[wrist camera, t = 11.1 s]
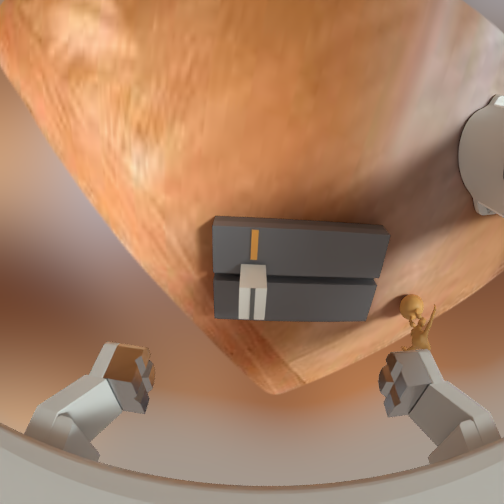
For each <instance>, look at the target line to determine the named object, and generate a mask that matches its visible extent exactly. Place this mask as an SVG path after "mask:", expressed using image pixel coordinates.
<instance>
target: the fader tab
mask: <svg viewBox="0 0 504 504" xmlns="http://www.w3.org/2000/svg"><path fill="white" fill-rule="evenodd" d="M266 295H267V278H266V265H254V264H241V271H240V285H239V319H249V320H264V318H265V307H266Z"/></svg>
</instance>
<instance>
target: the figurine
mask: <svg viewBox="0 0 504 504" xmlns="http://www.w3.org/2000/svg"><path fill="white" fill-rule="evenodd" d="M435 311H436V306H435V304H434V310H433V312H432V314H431V317H430V320H429V322H428V324H427V326H426V328H425V330H424V331H423V330H422V329H421V327H424V324H425V322H426V319H425V318H423V317H422V316H421V314H422V312H423V301H422V300H421V298H420V297H419V296H417V295H414V294H411V295H407V296H405V297H404V298H403V299H402V301H401V303H400V313H401V314H402V316H403V317H404V318H406V319H409V322H410V326H411V327H414V328H413V329H412V330H411V336H412V346H411V347H410V348H408V349H407V350H406V348H405V347H404V348H402V350H403V351H410V350H416V349H419V348H421V349H428V350H430V348H431V346H430V344H429V342H428V332H429V329H430V327H431V324H432V321H433V317H434V315H435ZM416 318H418V319H420V320H419V321H418V325H417V326H416V325H415V323H414V322H412V320H414V319H416Z"/></svg>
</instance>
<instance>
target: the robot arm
mask: <svg viewBox="0 0 504 504" xmlns="http://www.w3.org/2000/svg"><path fill="white" fill-rule="evenodd" d="M458 157H459V168H460V173H461V177H462V180H463V182H464V184H465V186H466V188H467V189H468V191H469V192H470V194H471V195H472V197H473V202H474V207H475V210H476V212H477V213H478V214H480V215H490V214H498V215H500V216H502V217H503V218H504V96H502V95H499V94H497V95H495V96H494V97H493V99H492V100H491V102H490V103H489V105H487V106H486V107H484V108H482V109H480V110H478V111H477V112H475V113H474V114H473V115H472V116H471V118H470V119H469V120H468V122H467V123H466V125H465V127H464V130H463V132H462V135H461V139H460V144H459V155H458ZM150 355H151V354H150V351H149V348H147V347H141V346H135V345H128V344H122V343H115V342H109V341H107V342H106V343H105V344H104V346H103V347H102V349H101V351H100V353H99V355H98V357H97V359H96V361H95V363H94V365H93V367H92V370H91V372H90V374H89V375H84V376H82V377H81V378H79V379H78V380H76V381H75V382H73V383H72V384H70V385H69V386H67V387H66V388H64V389H63V390H61V391H60V392H58V393H57V394H55V395H53V396H52V397H51V398H49V399H47V400H46V401H45V402H43V403H41V404H40V405H38V406H37V408H36V410H35V412H34V414H33V416H32V418H31V420H30V423H29V425H28V427H27V429H26V431H25V433H24V434H22V433H20V432H18V431H16V430H14V429H12V428H10V427H8V426H6V425H4V424H2V423H0V504H504V437H503V438H501V436H500V434H499V431H498V429H497V427H496V424H495V422H494V420H493V418H492V416H491V414H490V412H489V411H488V410H486V409H485V408H484V407H482V406H481V405H480V404H478V403H477V402H476V401H474V400H473V399H472V398H470V397H469V396H467V395H466V394H465V393H463V392H462V391H460V390H459V389H458V388H456V387H455V386H454V385H452V384H451V383H450V382H448V381H444V379H443V378H442V375H441V373H440V371H439V369H438V367H437V365H436V363H435V361H434V359H433V357H432V355H431V353H430V351H429V350H428V349H421V350H410V351H400V352H391V353H390V354H388V356H387V358H386V362H387V365H385V366H384V367H383V368H382V369H381V371H380V374H379V381H378V382H379V389H380V392H381V394H383V395H384V396H385V397H386V399H385V401H384V406H385V409H386V413H387V415H388V417H395V416H402V415H409V417H410V418H411V419H412V420H413V421H414V422H415V423H416V424H417V425H418V426H419V427H420V429H422V431H423V432H424V433H425V434H426V435H427V436H428V437H429V438H430V439H431V440H432V441H433V442H434V443H435V444H436V445H437V446H438V447H437V448H436V449H435V450H434V451H433V452H432V453H431V454H430V455H429V457H428V459H429V463H430V464H429V465H425V466H421V467H418V468H414V469H410V470H406V471H401V472H397V473H392V474H387V475H382V476H377V477H372V478H365V479H359V480H351V481H344V482H336V483H326V484H313V485H299V486H298V485H296V486H241V485H224V484H212V483H202V482H194V481H185V480H179V479H172V478H166V477H160V476H154V475H150V474H145V473H140V472H136V471H131V470H127V469H123V468H119V467H115V466H111V465H108V464H104V463H100V462H98V459H99V456H100V455H99V452H98V451H97V450H96V449H95V447H94V446H93V445H92V444H91V443H90V442H91V440H93V439H94V438H95V437H96V436H97V435H98V434H99V433H100V432H101V431H102V430H104V428H106V427H107V426H108V425H109V424H110V423H111V422H112V421H113V420H114V419H115V418H116V417H117V416H119V414H121V413H122V410H123V411H129V412H135V413H142V414H145V412H146V409H147V405H148V402H149V396H148V394H147V393H148V392H149V391H150V390H151V389H152V388H153V385H154V379H155V369H154V365H153V363H152V362H151V361H150V360H149V358H150Z"/></svg>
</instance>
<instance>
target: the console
mask: <svg viewBox="0 0 504 504" xmlns="http://www.w3.org/2000/svg"><path fill="white" fill-rule="evenodd" d="M212 232H213V272H215V275H214V280H213V285H214V316H215V318H217V319H237V320H249V319H239V285H240V271H241V264H254V265H266V278H267V295H266V307H265V318H264V320H262V321H311V322H339V321H366V319H367V316H368V313H369V310H370V306H371V303H372V300H373V297H374V294H375V290H376V287H377V285H376V283H375V281H374V278H379V277H380V273H381V270H382V266H383V262H384V259H385V255H386V251H387V247H388V243H389V239H390V234H389V233H388V232H387V230H386V229H385V228H384V227H383V226H382V225H370V224H356V223H342V222H327V221H311V220H293V219H274V218H253V217H228V216H215V219H214V222H213V225H212Z"/></svg>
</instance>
